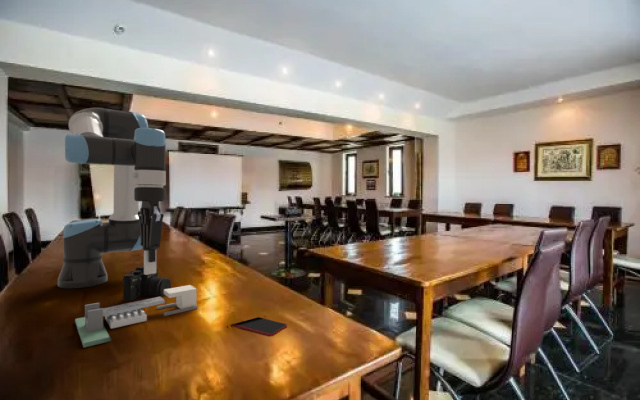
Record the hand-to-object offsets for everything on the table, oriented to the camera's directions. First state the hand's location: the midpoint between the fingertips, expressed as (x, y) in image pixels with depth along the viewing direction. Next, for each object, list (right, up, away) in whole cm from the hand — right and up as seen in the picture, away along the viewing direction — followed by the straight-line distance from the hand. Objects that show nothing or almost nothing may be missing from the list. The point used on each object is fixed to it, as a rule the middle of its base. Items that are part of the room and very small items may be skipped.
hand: (150, 273), depth 91 cm
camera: (-9, -12, +17) cm, 23 cm away
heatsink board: (-2, -12, -1) cm, 13 cm away
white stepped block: (+6, -11, +6) cm, 14 cm away
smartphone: (+29, -14, -3) cm, 33 cm away
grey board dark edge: (-4, -9, -3) cm, 10 cm away
